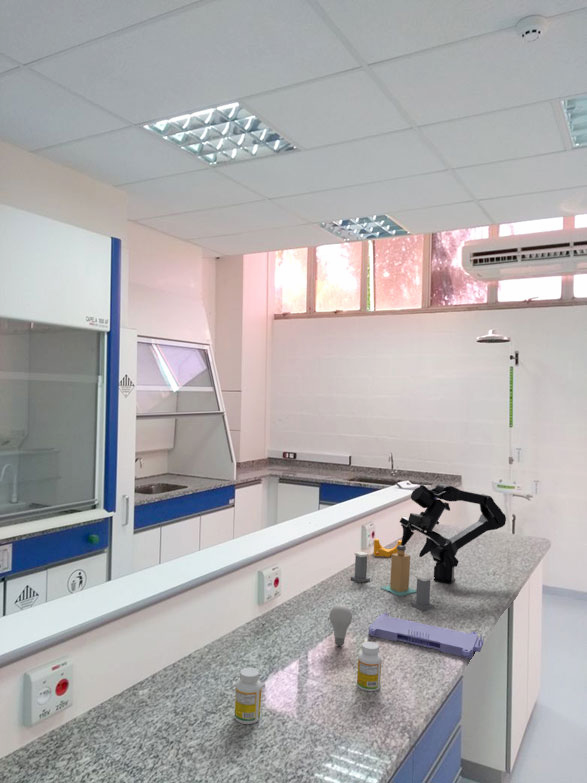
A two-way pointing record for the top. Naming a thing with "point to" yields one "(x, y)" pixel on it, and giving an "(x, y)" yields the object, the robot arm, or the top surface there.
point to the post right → (360, 567)
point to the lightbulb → (340, 622)
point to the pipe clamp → (382, 551)
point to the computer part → (426, 635)
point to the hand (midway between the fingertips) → (410, 551)
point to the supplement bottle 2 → (369, 667)
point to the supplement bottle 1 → (248, 696)
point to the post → (423, 593)
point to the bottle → (400, 570)
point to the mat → (400, 592)
